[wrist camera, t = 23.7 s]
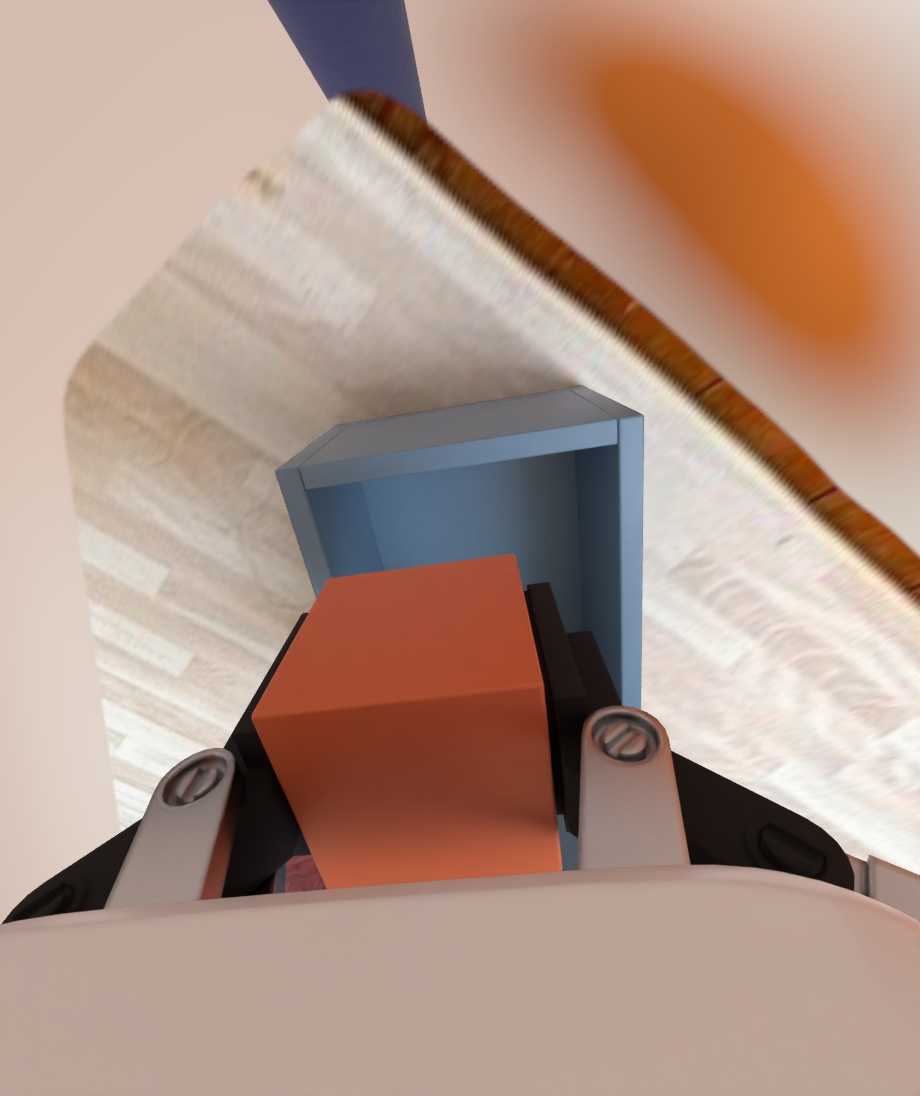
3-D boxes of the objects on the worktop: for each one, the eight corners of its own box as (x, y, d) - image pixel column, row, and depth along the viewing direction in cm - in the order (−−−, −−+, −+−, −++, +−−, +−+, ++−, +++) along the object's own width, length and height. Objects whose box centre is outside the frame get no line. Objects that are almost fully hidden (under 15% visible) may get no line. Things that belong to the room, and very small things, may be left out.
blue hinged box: (335, 424, 22) (273, 470, 15) (585, 385, 21) (645, 414, 14) (395, 657, 28) (371, 770, 21) (595, 634, 27) (641, 743, 20)
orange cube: (370, 718, 13) (327, 894, 9) (327, 577, 11) (247, 717, 7) (532, 701, 13) (563, 875, 9) (514, 552, 11) (544, 683, 7)
